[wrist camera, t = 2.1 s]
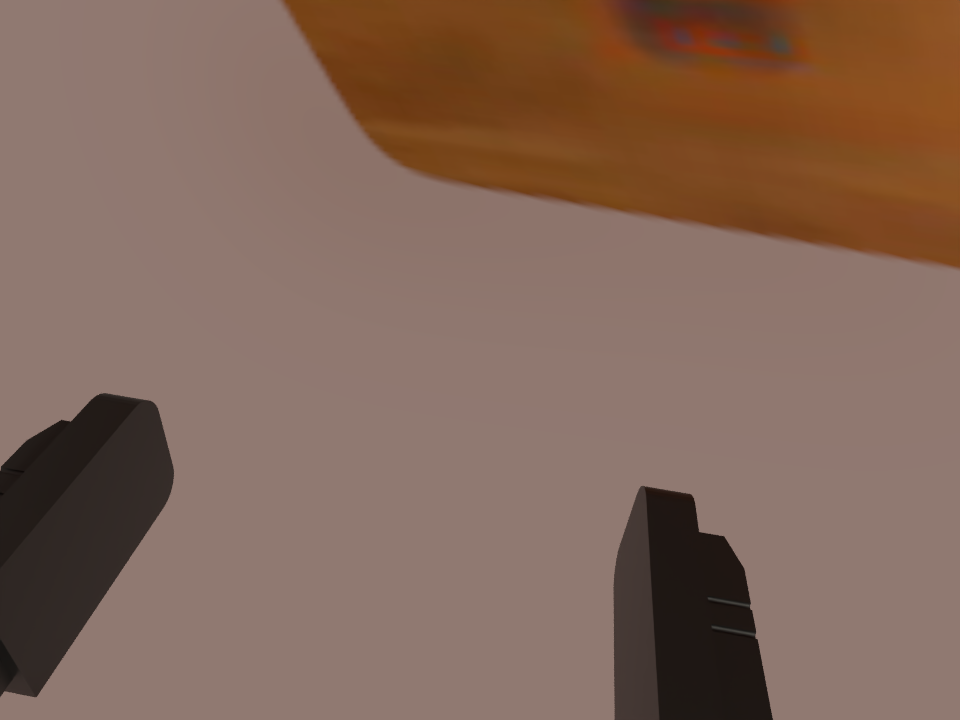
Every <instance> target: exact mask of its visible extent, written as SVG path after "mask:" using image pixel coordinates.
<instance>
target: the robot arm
mask: <svg viewBox="0 0 960 720" xmlns="http://www.w3.org/2000/svg"><path fill="white" fill-rule="evenodd" d="M173 477H174V469H173V464H172V460H171V457H170V453H169V449H168V445H167V441H166V437H165V434H164V430H163V426H162V422H161V418H160V414H159V411H158V408H157V407H156V405H155V404H154V403H153V402H151V401H148V400H142V399H136V398H130V397H124V396H118V395H112V394H106V393H103V394H99V395H97V396H96V397H94V398H93V399H92V400H91V401H90V402H89V403H88V404H87V405H86V406H85V407H84V408H83V409H82V410H81V412H80V413H79V414H78V415H77V416H76V417H75V418H74V419H73V420H72V421H71V422H70V421H64V420H61V421H59V422H57V423H56V424H54V425H52V426H51V427H49V428H47V429H46V430H44V431H42V432H40V433H39V434H37V435H35V436H34V437H32V438H30V439H29V440H27V441H26V442H25V443H24V444H23V445H22V446H21V447H20V448H19V449H18V450H17V451H16V452H15V453H14V454H13V455H12V456H11V457H10V458H9V459H8V460H7V461H6V462H5V463H4V464H3V465H2V466H1V471H0V696H1V695H2V694H3V692H4V691H7V692H12V693H17V694H22V695H27V696H32V697H37V696H38V694H39V693H40V691H41V689H42V688H43V686H44V685H45V684H46V682H47V681H48V679H49V678H50V676H51V675H52V673H53V672H54V670H55V669H56V667H57V666H58V664H59V663H60V661H61V660H62V658H63V656H64V655H65V654H66V652H67V651H68V649H69V648H70V646H71V645H72V643H73V642H74V640H75V639H76V637H77V636H78V634H79V633H80V631H81V630H82V628H83V627H84V625H85V624H86V622H87V621H88V619H89V618H90V616H91V615H92V614H93V612H94V611H95V609H96V608H97V606H98V604H99V603H100V601H101V600H102V599H103V597H104V595H105V594H106V593H107V591H108V590H109V588H110V587H111V585H112V584H113V582H114V581H115V579H116V578H117V576H118V575H119V573H120V572H121V570H122V569H123V567H124V566H125V564H126V563H127V561H128V560H129V558H130V557H131V555H132V553H133V552H134V551H135V549H136V548H137V546H138V545H139V543H140V542H141V540H142V539H143V537H144V536H145V534H146V533H147V531H148V530H149V528H150V527H151V525H152V524H153V522H154V521H155V520H156V518H157V516H158V515H159V514H160V512H161V511H162V509H163V507H164V506H165V504H166V502H167V500H168V498H169V495H170V493H171V489H172V485H173V479H174V478H173ZM750 604H751V602H750V597H749V591H748V586H747V581H746V576H745V570H744V568H743V566H742V564H741V563H740V561H739V560H738V558H737V557H736V555H735V553H734V551H733V550H732V548H731V547H730V545H729V544H728V542H727V540H726V539H725V537H724V536H719V535H713V534H706V533H701V532H699V529H698V522H697V514H696V507H695V501H694V498H693V496H692V495H691V494H686V493H680V492H675V491H668V490H663V489H657V488H650V487H645V486H641V487H640V489H639V491H638V493H637V496H636V499H635V502H634V505H633V508H632V511H631V514H630V517H629V520H628V523H627V526H626V529H625V532H624V535H623V538H622V541H621V544H620V547H619V550H618V555H617V560H616V566H615V574H614V677H615V679H614V681H615V682H614V684H615V685H614V686H615V720H773V718H772V713H771V709H770V703H769V698H768V692H767V687H766V681H765V676H764V671H763V666H762V660H761V655H760V650H759V644H758V640H757V639H756V638H755V634H756V628H755V623H754V618H753V613H752V610H750Z"/></svg>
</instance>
